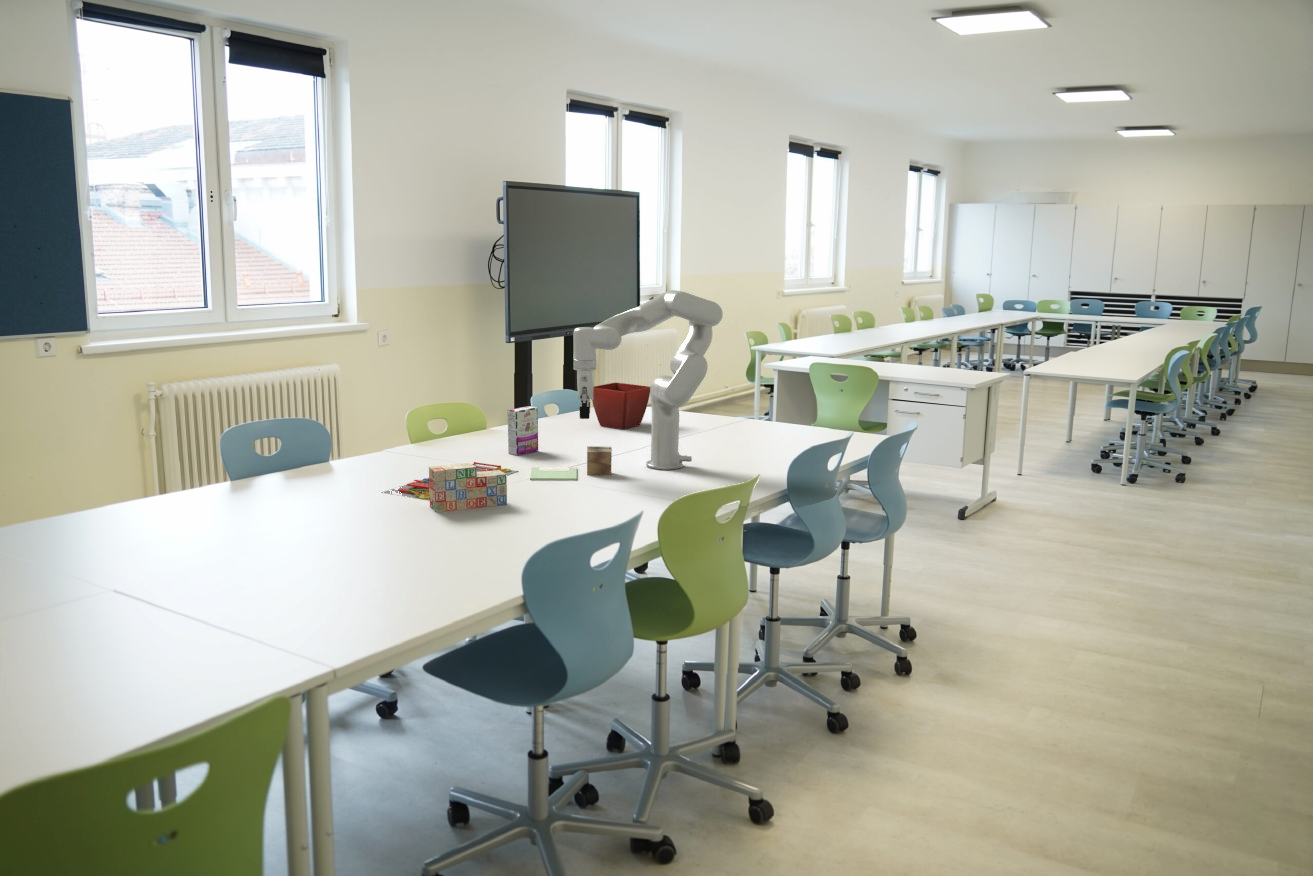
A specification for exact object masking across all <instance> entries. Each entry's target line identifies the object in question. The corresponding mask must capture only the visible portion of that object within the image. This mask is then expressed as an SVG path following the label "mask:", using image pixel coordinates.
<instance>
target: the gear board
mask: <svg viewBox="0 0 1313 876" xmlns="http://www.w3.org/2000/svg"><path fill="white" fill-rule="evenodd" d="M471 464H472V465H474V466H476V467H477V472H483V471H495V470H500V471H502V472H504V473H505V474H506V475H507V476H510V475H512V474H515V473H518V472H519V471H518V470H513V469H511V468H502V465H498V464H489V463H484V462H483V463H482V462H476V461H473V463H471ZM399 487H400V488H399V489H398V490H395V489H394V488H391V489H388V490H385V491H382V492H381V494H389V495H393V494H392V491H395V492H396V493H398V491H399V494H401V493H402V496H401V497H405V496H407V497H406V498H411V497H412V499H418V500H424V501H428V502H430V493H429V477H427V478H422V479H414V480H413V481H412V482H409V483H406V484H404V485H402V486H399ZM401 487H402V488H401ZM389 490H392V491H391V494H390V491H389ZM383 492H384V493H383ZM400 492H401V493H400Z"/></svg>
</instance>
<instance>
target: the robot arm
mask: <svg viewBox="0 0 1313 876" xmlns="http://www.w3.org/2000/svg"><path fill="white" fill-rule="evenodd" d="M723 314H724V313H723V309H722V307H721V305H719V304H718V303H717V302H715V301H712V300H709V299H707V298H702V297H701V296H697V295H694V294H692V293H689V292H685V291H681V290H673V289H672V290H667V291H665V292H663V293H661V294H659V295H657V296H656V297H654V298H651V299H649V300H648V301H646V302H644V303H643V304H640V305H638V306H636V307H634V308H631V309H628V310H627V311H624V312H621V313H618V314H616V315H614V316H612V317H609V318H607V319H606V320H604V321H602V322H600V323H598V324H596V325H595V326H594V327H590V326H582V327H580V326H579V327H575V328H574V330H573V339H572V340H573V370H574V371H576V379H577V380H576V381H577V382H576V383H577V384H576V386H577V396H578V400H579V403H580V404H579V405H580V406H579V419H581V420H588V419H590V414H591V402H590V400H591V401H592V400H593V391H594V386H595V385H594V380H595V379H594V371H596V370H597V350H606V351H612V350H615V349H617V348H618V347H619V346H620V345H621V343H622V337H623V336H626V335H630V334H632V333H633V334H634V333H640V332H642V333H643V332H646V331H648V330H651V329H653V328H654V327H656V326H658V325H660V324H662V323H664V322H665V321H668V320H669V319H672V318H673V317H677V318H678V317H679V318H681V319H684V320H687V321H688V324H689V326H688V327H689V329H688V333H687V334H686V337H685V338H684V341H683V342H682V343H681V345H680V346H679V348H678V349H677V351H676V352H675V353H674V355H673V357H672V358H671V360H670V362H669V363H670V364H669V368H670V371H671V372H672V373H673V374H674V375H673V376H670V375H660V376H657V377H656V378H655V379H654V380H653V381H652V382H651V384H650V387H651V388H650V396H649V398H650V402H651V403H650V404H651V434H650V435H651V436H650V437H651V441H650V459H649V460H647V461H646V463H645V465H646V467H648V468H650V469H654V470H664V471H665V470H666V471H667V470H668V471H669V470H678V469H681V468H682V467H683V462H687V463H688V462H689V463H690V462H692V458H693V457H692V456H690V455H681V454H680V452H679V439H680V438H679V437H680V436H679V435H680V431H679V430H680V409H679V408H681V407H683V406H685V405H686V404H687V403H688V402H689V401H690V399H691V398H692V397H693V395H694V394H695V393H696V391H697V389H698V388H699V387H700V386H701V384H702V382H703V381H704V378H706V375H707V373H708V366H709V365H708V361H707V359H706V357H705V354H706V353H707V351H708V349H709V347H710V346H711V343H712V340H713V327H715V326H717V325H719V324H720V323H721V321H722V319H723Z"/></svg>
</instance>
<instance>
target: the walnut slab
mask: <svg viewBox="0 0 1313 876" xmlns="http://www.w3.org/2000/svg"><path fill="white" fill-rule="evenodd" d="M612 451H613V450H612V446H588V445H587V447H586V459H587V460H586V475H587V476H612V455H613V454H612Z"/></svg>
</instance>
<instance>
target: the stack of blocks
mask: <svg viewBox="0 0 1313 876" xmlns="http://www.w3.org/2000/svg"><path fill="white" fill-rule="evenodd" d="M472 464H473V463H471V462H462V463H452V464H444V465H433V466H432V465H431V466H428V478H429V493H430V501H429V507H430V508H431V510H433V511H434V512H435V513H440V512H450V511H461V510H468V509H469V510H470V509H475V508H479V509H480V508H486V507H494V506H495V507H496V506H506V505H508V501H507V500H508V485H507V482H508V481H507V476H506V474H505V473H504V472H502V471H500V470H495V471H483V472H477V467H476V466H474V465H472Z"/></svg>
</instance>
